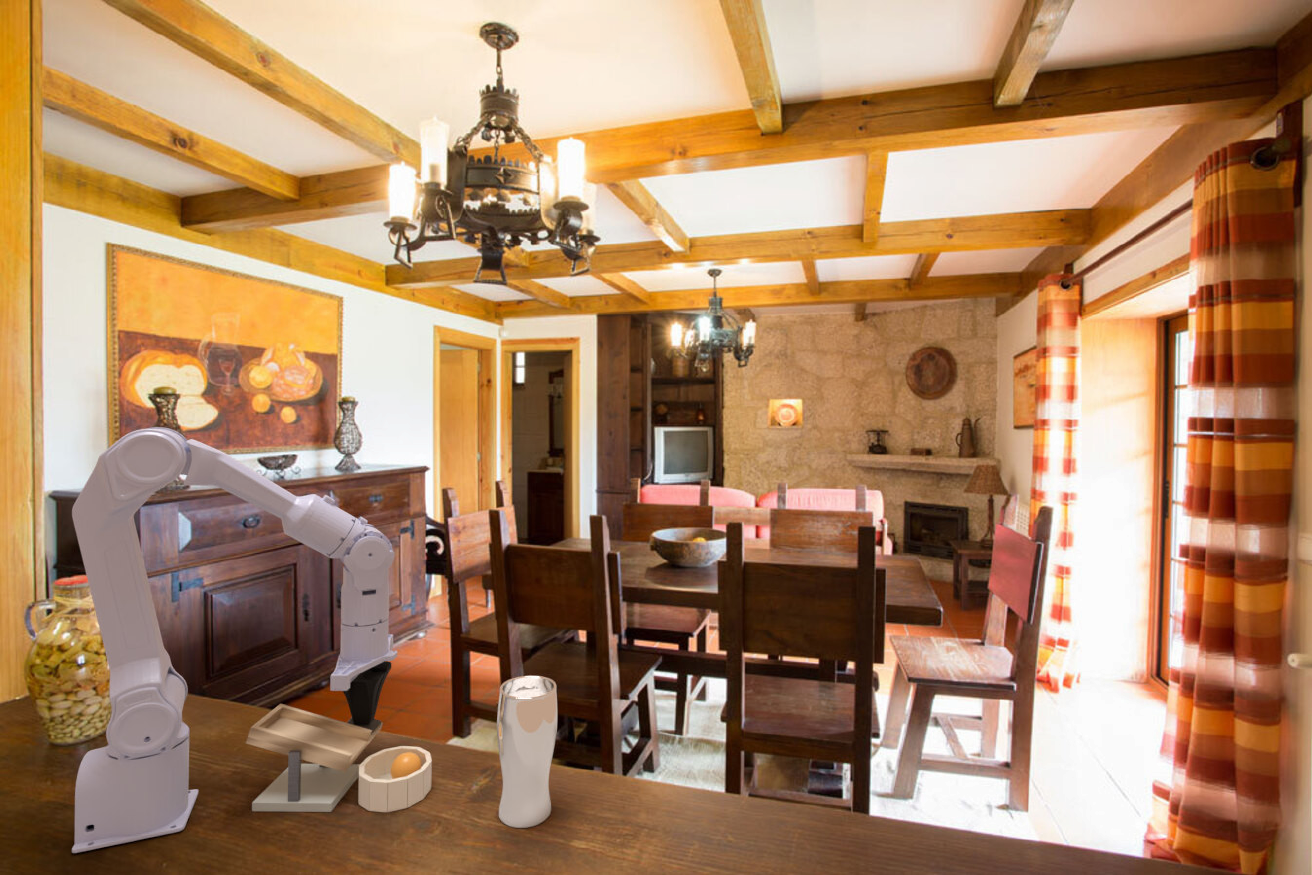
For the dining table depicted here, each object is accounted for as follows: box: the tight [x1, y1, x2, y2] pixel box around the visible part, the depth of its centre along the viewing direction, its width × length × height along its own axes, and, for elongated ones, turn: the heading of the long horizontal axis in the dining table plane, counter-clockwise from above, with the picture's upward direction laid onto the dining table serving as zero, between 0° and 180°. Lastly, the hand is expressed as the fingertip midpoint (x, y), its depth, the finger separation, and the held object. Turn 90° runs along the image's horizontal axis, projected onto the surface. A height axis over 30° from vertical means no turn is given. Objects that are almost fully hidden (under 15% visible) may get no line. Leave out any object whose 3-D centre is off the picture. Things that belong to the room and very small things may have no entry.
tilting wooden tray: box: [245, 703, 384, 772], centre depth 79 cm, size 12×11×2 cm
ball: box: [391, 752, 422, 779], centre depth 79 cm, size 4×4×4 cm
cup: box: [357, 745, 433, 813], centre depth 78 cm, size 8×8×4 cm
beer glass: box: [496, 675, 558, 829], centre depth 74 cm, size 7×7×15 cm
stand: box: [251, 750, 361, 813], centre depth 77 cm, size 9×8×7 cm
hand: (363, 722), depth 83 cm, fingers closed, pressing on tilting wooden tray
